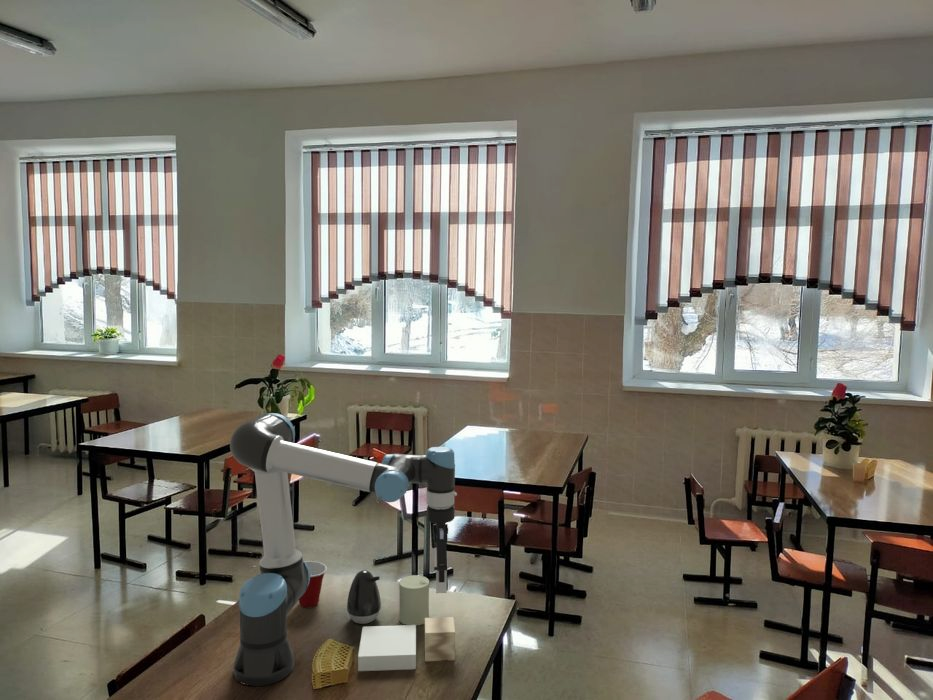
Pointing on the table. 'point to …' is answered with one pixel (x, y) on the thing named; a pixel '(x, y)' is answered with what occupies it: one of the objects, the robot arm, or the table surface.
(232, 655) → the table surface
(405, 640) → the white square slab
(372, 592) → the pump dispenser
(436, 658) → the maple cube
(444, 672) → the table surface
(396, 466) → the robot arm
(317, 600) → the plastic cup
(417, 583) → the can
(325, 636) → the table surface
